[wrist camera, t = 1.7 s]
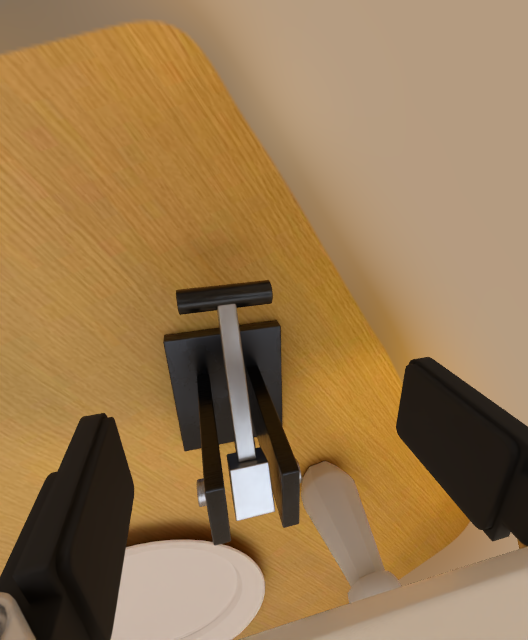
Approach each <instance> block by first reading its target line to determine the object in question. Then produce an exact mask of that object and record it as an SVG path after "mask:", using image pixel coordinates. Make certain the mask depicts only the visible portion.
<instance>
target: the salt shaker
mask: <svg viewBox="0 0 528 640" xmlns="http://www.w3.org/2000/svg"><path fill="white" fill-rule="evenodd" d="M301 497H302V501H303V505H304V508H305V510H306V512H307V513H308V515H309V517H310V518H311V520H312V522H313V523H314V525H315V527H316V528H317V530H318V532H319V533H320V535H321V537H322V538H323V540H324V542H325V543H326V545H327V547H328V548H329V550H330V552H331V553H332V555H333V557H334V558H335V560H336V562H337V563H338V565H339V567H340V568H341V570H342V572H343V573H344V575H345V577H346V579H347V580H348V582H349V584H350V586H351V589H350V591H349V593H348V599H349V603H352V602H355V601H358V600H361V599H364V598H368V597H371V596H374V595H377V594H380V593H383V592H386V591H389V590H392V589H395V588H399V587H402V586H401V584H400V582H399V581H398V579H397V578H396V577H395V576H394V575H393V574H392V573H390V572H389V571H385V569H384V566H383V564H382V561H381V558H380V555H379V552H378V549H377V546H376V543H375V540H374V537H373V534H372V532H371V529H370V526H369V523H368V520H367V517H366V514H365V511H364V508H363V505H362V502H361V499H360V497H359V494H358V491H357V488H356V485H355V482H354V480H353V479H352V478H351V477H350V476H349V475H348V474H347V473H346V472H344V471H343V470H341V469H340V468H339V467H337V466H336V465H333V464H331V463H329V462H327V461H323V462H321V463H318V464H315V465H313V466H310V467H309V468H308V470H307V472H306V473H305V475H304V476H303V478H302V491H301Z"/></svg>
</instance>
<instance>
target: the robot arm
mask: <svg viewBox="0 0 528 640" xmlns="http://www.w3.org/2000/svg"><path fill="white" fill-rule="evenodd" d="M396 430H397V433H398V435H399V437H400V438H401V439H402V440H403V442H404V443H405V444H406V445H407V446H408V448H409V449H410V450H411V451H412V452H413V453H414V455H415V456H416V457H417V458H418V459H419V461H420V462H421V463H422V464H423V465H424V466H425V468H426V469H427V470H428V471H429V472H430V474H431V475H432V476H433V477H434V478H435V479H436V481H437V482H438V483H439V484H440V485H441V487H442V488H443V489H444V490H445V491H446V493H447V494H448V495H449V496H450V497H451V498H452V500H453V501H454V502H455V503H456V504H457V506H458V507H459V508H460V509H461V510H462V511H463V513H464V514H465V515H466V516H467V517H468V519H469V520H470V521H471V522H472V523H473V524H474V525H475V526H476V527H477V528H478V529H480V530H483V531H484V532H485V533H486V535H487V536H488V537H489V538H490V539H491V540H492V541H495V540H499V539H502V538H505V537H508V536H509V535H510V532H512V533H513V535H514V536H515V537H516V538H517V539H518V545H519V549H518V550H516V551H512V552H509V553H506V554H502V555H499V556H496V557H493V558H490V559H487V560H484V561H480V562H477V563H474V564H471V565H467V566H464V567H461V568H458V569H455V570H452V571H449V572H445V573H442V574H439V575H436V576H433V577H430V578H427V579H423V580H420V581H417V582H414V583H411V584H408V585H405V586H402V587H399V588H395V589H392V590H389V591H386V592H383V593H380V594H377V595H374V596H371V597H368V598H364V599H361V600H358V601H355V602H352V603H349V604H346V605H343V606H340V607H337V608H334V609H330V610H327V611H324V612H321V613H318V614H315V615H312V616H309V617H306V618H303V619H300V620H297V621H294V622H291V623H288V624H285V625H282V626H279V627H276V628H273V629H270V630H266V631H263V632H260V633H257V634H254V635H251V636H248V637H245V638H242V639H239V640H528V427H527V426H526V425H525V424H523V423H522V422H520V421H519V420H518V419H516V418H515V417H513V416H512V415H511V414H509V413H508V412H506V411H505V410H504V409H502V408H501V407H499V406H498V405H497V404H495V403H494V402H492V401H491V400H490V399H488V398H487V397H485V396H484V395H483V394H481V393H480V392H478V391H477V390H476V389H474V388H473V387H471V386H470V385H468V384H467V383H466V382H464V381H463V380H461V379H460V378H459V377H457V376H456V375H455V374H453V373H452V372H450V371H449V370H448V369H446V368H445V367H443V366H442V365H440V364H439V363H437V362H436V361H435V360H433V359H432V358H430V357H425V358H420V359H413V360H411V361H410V362H409V365H407V366H406V369H405V374H404V381H403V387H402V393H401V399H400V405H399V411H398V418H397V424H396ZM133 499H134V484H133V480H132V477H131V473H130V470H129V467H128V463H127V460H126V456H125V453H124V450H123V446H122V443H121V440H120V436H119V433H118V430H117V426H116V423H115V420H114V418H113V417H109V418H107V415H106V414H105V413H101V414H96V415H90V416H84V417H82V418H81V419H80V421H79V423H78V426H77V428H76V430H75V433H74V435H73V437H72V440H71V442H70V444H69V446H68V449H67V451H66V453H65V456H64V458H63V460H62V463H61V465H60V467H59V469H58V472H53V473H51V474H50V475H48V477H47V478H46V480H45V482H44V484H43V486H42V488H41V490H40V492H39V494H38V497H37V499H36V501H35V503H34V505H33V507H32V510H31V512H30V514H29V516H28V518H27V520H26V522H25V525H24V527H23V529H22V531H21V533H20V535H19V538H18V540H17V542H16V544H15V546H14V548H13V551H12V553H11V555H10V557H9V559H8V561H7V563H6V566H5V568H4V570H3V572H2V574H1V576H0V640H110V639H111V636H112V631H113V625H114V619H115V613H116V606H117V600H118V594H119V588H120V581H121V575H122V569H123V562H124V556H125V550H126V543H127V537H128V531H129V524H130V518H131V512H132V505H133Z"/></svg>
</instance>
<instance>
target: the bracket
mask: <svg viewBox="0 0 528 640" xmlns="http://www.w3.org/2000/svg"><path fill="white" fill-rule="evenodd" d="M239 330H240V337H241V345H242V352H243V360H244V367H245V375H246V382H247V389H248V397H249V404H250V412H251V419H252V427H253V434H254V437H257V438H258V442H259V445H260V447H261V448H262V450H263V452H264V454H265V456H266V458H267V460H268V462H269V469H270V477H271V484H272V491H273V494H274V498H275V501H276V505H277V508H278V511H279V515H280V518H281V522H282V525H283V527H284V528H285V527H289V526H292V525H296V524H299V493H300V483H301V481H302V477H301V471H300V467H299V464H298V461H297V460H296V459H295V457H294V455H293V452H292V450H291V447H290V445H289V442H288V440H287V437H286V435H285V432H284V430H283V427H282V375H281V326H280V325H279V323H278V322H277V320H275V321H267V322H260V323H252V324H245V325H239ZM163 343H164V348H165V353H166V358H167V363H168V369H169V374H170V379H171V384H172V389H173V394H174V400H175V405H176V410H177V415H178V420H179V426H180V431H181V436H182V441H183V446H184V451H189V450H194V449H199V448H202V463H203V477H204V478H203V479H199V480H197V495H198V502H199V506H200V507H202V506H206V505H207V510H208V516H209V521H210V527H211V533H212V539H213V544H214V546H216V545H220V544H223V543H227V542H230V541H231V534H230V526H229V519H228V511H227V503H226V496H225V488H224V481H223V473H222V466H221V458H220V451H219V444H224V443H229V442H234V434H233V426H232V419H231V411H230V404H229V396H228V389H227V381H226V374H225V366H224V359H223V351H222V343H221V336H220V328H214V329H207V330H199V331H192V332H184V333H177V334H169V335H164V342H163Z"/></svg>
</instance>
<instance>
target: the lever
mask: <svg viewBox="0 0 528 640" xmlns="http://www.w3.org/2000/svg"><path fill="white" fill-rule="evenodd" d="M176 299H177V306H178V311H179V314H180V315H181V314H190V313H198V312H206V311H214V310H217V313H218V321H219V328H220V336H221V343H222V351H223V359H224V366H225V374H226V381H227V389H228V396H229V404H230V411H231V419H232V426H233V434H234V441H235V449H236V453H231V454H227V461H228V469H229V476H230V484H231V492H232V499H233V505H234V510H235V516H236V521H239V520H243V519H247V518H251V517H255V516H259V515H263V514H267V513H271V512H275V506H274V499H273V492H272V484H271V477H270V469H269V462H268V460H267V458H266V456H265V454H264V452H263V450H262V448H261V447H260V448H255V442H254V434H253V427H252V419H251V412H250V404H249V397H248V389H247V382H246V375H245V367H244V360H243V352H242V345H241V337H240V330H239V322H238V315H237V308H239V307H247V306H255V305H263V304H271V303H272V299H273V294H272V287H271V283H270V281H269V280H264V281H255V282H246V283H237V284H227V285H218V286H209V287H199V288H190V289H181V290H176Z"/></svg>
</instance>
